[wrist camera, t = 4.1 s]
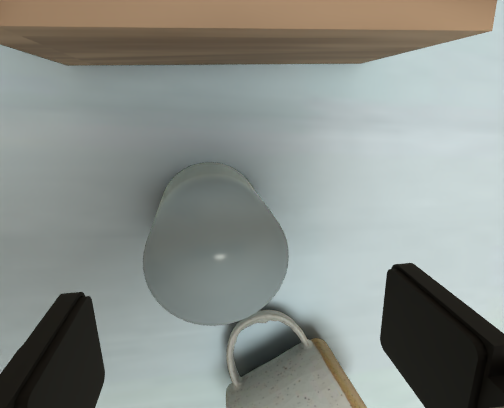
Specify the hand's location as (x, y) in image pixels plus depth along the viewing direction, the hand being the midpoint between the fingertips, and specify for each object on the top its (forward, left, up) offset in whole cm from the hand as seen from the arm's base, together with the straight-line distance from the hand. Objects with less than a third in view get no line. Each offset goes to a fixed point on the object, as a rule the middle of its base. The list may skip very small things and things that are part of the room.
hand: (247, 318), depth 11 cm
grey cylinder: (0, +1, -13) cm, 13 cm away
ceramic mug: (-13, -4, -13) cm, 19 cm away
